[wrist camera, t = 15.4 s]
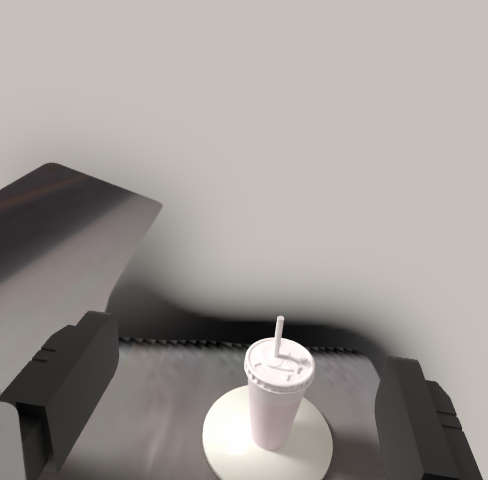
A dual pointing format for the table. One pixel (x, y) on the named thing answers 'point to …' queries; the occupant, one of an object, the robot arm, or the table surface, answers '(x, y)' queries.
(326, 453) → the plate
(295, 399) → the smoothie
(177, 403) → the table surface
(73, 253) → the table surface
